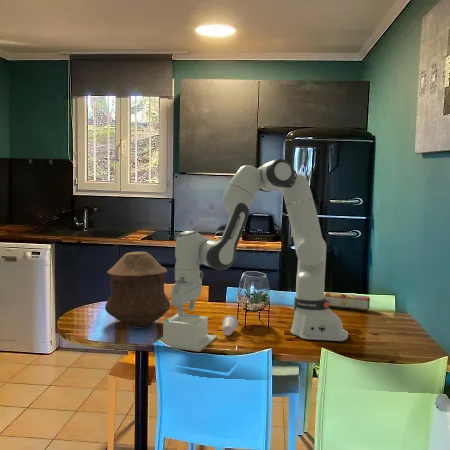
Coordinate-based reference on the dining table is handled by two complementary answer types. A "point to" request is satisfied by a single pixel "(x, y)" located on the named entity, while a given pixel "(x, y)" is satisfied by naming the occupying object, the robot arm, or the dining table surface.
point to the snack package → (347, 300)
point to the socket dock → (187, 332)
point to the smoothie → (229, 324)
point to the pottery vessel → (137, 290)
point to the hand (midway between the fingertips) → (186, 313)
